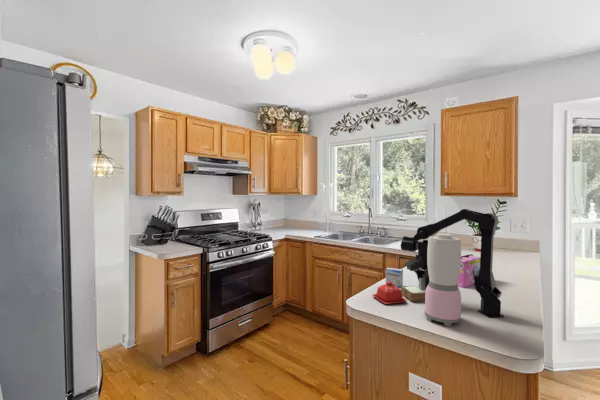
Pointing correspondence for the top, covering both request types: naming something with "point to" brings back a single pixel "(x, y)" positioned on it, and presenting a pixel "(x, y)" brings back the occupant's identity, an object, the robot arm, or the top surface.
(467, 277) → the gum box
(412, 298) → the walnut box
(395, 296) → the butter dish
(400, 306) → the top surface
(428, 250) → the blender
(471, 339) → the top surface
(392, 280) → the medicine box
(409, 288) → the lid
